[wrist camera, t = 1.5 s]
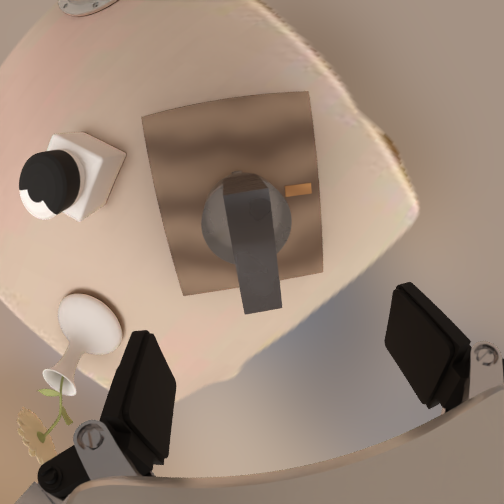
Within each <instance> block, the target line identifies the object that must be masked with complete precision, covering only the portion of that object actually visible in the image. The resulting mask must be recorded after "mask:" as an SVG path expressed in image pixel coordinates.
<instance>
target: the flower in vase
mask: <svg viewBox="0 0 504 504" xmlns="http://www.w3.org/2000/svg"><path fill="white" fill-rule="evenodd" d="M58 321H59V324H60V327H61V329H62V331H63V333H64V335H65V336H66V338H67V339H68V341H69V345H68V348H67V350H66V352H65V354H64V355H63V357H62V358H61V359H60V361H59V362H58V363H57V364H56V365H55V366H53V367H51V368H48V369H45V370H44V371H43V377H44V379H45V381H46V382H47V383H48V384H49V385H50V386H51V387H52V388H53V389H54V390H52V389H41V390H38V391H39V392H41V393H42V394H43V395H45V396H60V410H59V415H58V418H57V419H56V421H55V422H54V424H53V425H52V426H51V427H50V428H49V429H48V431H47V429H46V427H44V426H43V423H42V421H41V420H40V419H39V418H38V417H37V416H36V414H35V413H34V412H33V413H32V412H31V410H29V409H28V411H27V409H26V408H25V407H22V410H23V411H20V413H18V418H19V419H17V422H18V424H19V425H20V428H18V433H19V435H20V436H22V437H23V439H22V441H23V443H24V444H25V445H26V446H28V447H29V450H28V451H29V454H30V455H31V456H32V457H34V456H35V455H36V458H37V459H38V462H39V463H40V464H41V465H42V464H44V463H45V462H47V461H48V460H50V459H52V458H53V457H55V456H57V452H56V451H55V450H54V449H55V446H54V444H53V443H52V438H51V436H50V435H49V433H50V432H51V430H52V429H53V428H54V427H55V426H56V424H57V423H58V422H59V420H60V417H61V414H62V416H63V418H64V420H65V422H66V424H67V425H70V424H71V423H73V421H72V420H71V419H70V417H69V416H68V415H67V413H66V410H65V408H64V407H63V406H62V394H64V395H67V396H73V395H75V394H76V387H75V384H74V375H75V370H76V367H77V364H78V362H79V359H80V358H81V356H82V355H83V353H89V354H94V355H102V354H108V353H111V352H113V351H114V350H115V349H116V348H117V347H118V346H119V345H120V343H121V341H122V330H121V326H120V324H119V321H118V319H117V317H116V316H115V314H114V313H113V312H112V311H111V310H110V309H109V307H108V306H106V305H105V304H104V303H103V302H101V301H100V300H98V299H96V298H94V297H92V296H89V295H86V294H71V295H68V296H66V297H65V298H63V299H62V301H61V302H60V305H59V309H58ZM55 390H56V391H55Z"/></svg>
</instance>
